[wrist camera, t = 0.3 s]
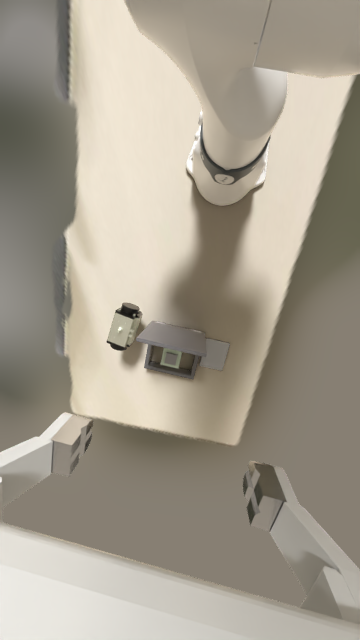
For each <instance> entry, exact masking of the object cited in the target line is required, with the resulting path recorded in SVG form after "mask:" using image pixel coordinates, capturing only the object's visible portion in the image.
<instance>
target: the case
mask: <svg viewBox="0 0 360 640" xmlns="http://www.w3.org/2000/svg"><path fill="white" fill-rule="evenodd" d="M136 341H138V342H142V343H146V344H148V349H147V354H146V360H145V366H144V368H147V369H151V370H156V371H160V372H164V373H168V374H172V375H177V376H181V377H185V378H189V379H194V375H195V371H196V367H197V363H198V359H199V356H202V357H206V356H207V349H206V337H205V333H204V332H201V331H197V330H192V329H187V328H183V327H178V326H174V325H170V324H166V323H162V322H157V321H152V322H151V323H150V324H149V325H148V326H147V327H146V328H145V329H144V330H143V331H142V332H141V333H140V334H139V335H138V336H137V338H136ZM153 345H155V346H159V347H164V348H168V349H172V350H176V351H181V352H185V353H189V354H194V355H195V357H194V361H193V365H192V369H191V371H190V370H186V369H182V368H174V367H169V366H165V365H161V363H157V362H152V361H151V355H152V350H153Z"/></svg>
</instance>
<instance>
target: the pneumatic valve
mask: <svg viewBox="0 0 360 640" xmlns="http://www.w3.org/2000/svg"><path fill="white" fill-rule="evenodd" d="M141 317H142V312H140V311H139V307H138V306H136V305H134V304H130V303H123V304H122V307H121V308H119V309H117V310H116V312H115V315H114V319H113V322H112V325H111V329H110V332H109V336H108V339H107V343H109V344H110V346H111V347H112V348H113V349H116V350H120V351H123V350H126V349H127V347H130V346H131V345H132V344H133V341H134V338H135V335H136V332H137V329H138V326H139V323H140V320H141Z"/></svg>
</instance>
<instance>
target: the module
mask: <svg viewBox="0 0 360 640" xmlns="http://www.w3.org/2000/svg"><path fill="white" fill-rule="evenodd" d="M181 355H182V352H181V351H176V350H172V349H168V348H164V349H163V354H162V359H161V365H165V366H169V367H174V368H179V364H180V359H181Z"/></svg>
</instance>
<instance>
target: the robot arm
mask: <svg viewBox="0 0 360 640" xmlns="http://www.w3.org/2000/svg"><path fill="white" fill-rule="evenodd" d="M124 1H125V4H126V6H127V8H128V11H129V13H130V15H131V17H132V19H133V21H134V23H135V25H136V27H137V28H138V30H139V32H140V33H141V34H142V35H144V36H145V37H146V38H148V39H149V40H150V41H151V42H153V43H154V44H155V45H156V46H157V47H159V48H160V49H161V50H162V51H163V52H164V53H165V54H166V55H167V56H168V57H169V58H170V59H171V60H172V61H173V62H174V63H175V64H176V66H177V67H178V68H179V69H180V71H181V72H182V73H183V75H184V76H185V77H186V79H187V80H188V82H189V83H190V85H191V87H192V88H193V90H194V92H195V93H196V95H197V97H198V99H199V101H200V104H201V107H202V111H201V113H200V117H199V125H200V126H199V129H198V132H196V135H195V140H194V143H193V146H192V149H191V151H190V154H189V157H188V160H187V163H186V169H187V171H188V172H189V173H190V174H191V176H192V177H193V178H194V180H195V183H196V186H197V188H198V190H199V192H200V194H201V195H202V196H203V197H204V198H205V199H206V200H207V201H209V202H210V203H212V204H215V205H220V206H225V205H231V204H233V203H236V202H238V201H239V200H241V199H242V198H243V197H244V196H245V195H246V194H247V193H248V192H249V191H250V190H251V189H253V188H255V187H258V186H259V185H261V184H262V183H263V182H264V180H265V177H266V168H267V159H268V149H269V140H270V136H271V133H272V131H273V129H274V127H275V125H276V123H277V121H278V119H279V117H280V116H281V113H282V111H283V108H284V105H285V102H286V97H287V91H288V73H294V74H300V75H306V76H312V77H318V78H329V77H339V76H349V75H355V74H360V0H124ZM287 72H288V73H287ZM192 159H193V161H192ZM261 173H262V174H261ZM92 427H93V420H91V419H88V418H84V417H81V416H77V415H73V414H69V413H66V412H65V413H63V414H61V415H60V416H59V417H58V418H57V420H55V421H54V422H53V423H52V424H51V425H50V427H48V429H46V431H44V433H43V434H42V435H41V436H40V437H34V438H31V439H30V440H27V441H25V442H22V443H20V444H18V445H16V446H13V447H11V448H9V449H7V450H4V451H2V452H0V640H360V570H359V568H358V567H357V566H356V565H355V564H354V563H353V562H352V561H351V560H350V558H349V557H348V556H347V555H346V554H345V553H344V552H343V551H342V550H341V548H340V547H339V546H338V545H337V544H336V543H335V542H334V541H333V539H332V538H331V537H329V535H328V534H327V533H326V532H325V531H324V529H323V528H322V527H321V526H320V525H319V524H318V523H317V522H316V521H315V520H314V518H313V517H312V516H311V515H310V514H309V513H308V512H307V511H306V510H305V508H304V507H302V506H300V505H299V503H298V500H297V498H296V496H295V494H294V491H293V489H292V487H291V485H290V482H289V480H288V478H287V475H286V473H285V471H284V469H283V468H281V467H277V466H273V465H269V464H265V463H261V462H257V461H253V460H251V461H250V462H249V464H248V469H249V471H247V472H246V473H245V475H244V478H243V492H244V496H245V498H246V500H247V501H248V506H247V512H248V517H249V522H250V526H253V527H256V528H259V529H262V530H266V531H269V532H270V534H271V536H272V538H273V540H274V541H275V543H276V545H277V546H278V548H279V550H280V551H281V553H282V554H283V556H284V558H285V560H286V561H287V563H288V565H289V566H290V568H291V570H292V571H293V573H294V574H295V576H296V578H297V580H298V581H299V583H300V585H301V586H302V588H303V590H304V591H305V593H306V595H307V596H306V597H305V599H304V601H303V602H302V604H301V606H300V607H296V606H293V605H289V604H285V603H282V602H279V601H275V600H272V599H268V598H265V597H261V596H258V595H254V594H251V593H247V592H243V591H240V590H237V589H233V588H229V587H226V586H223V585H219V584H216V583H212V582H209V581H205V580H201V579H198V578H195V577H191V576H188V575H184V574H181V573H178V572H174V571H171V570H167V569H164V568H160V567H156V566H153V565H150V564H146V563H142V562H139V561H135V560H132V559H129V558H125V557H121V556H118V555H114V554H110V553H107V552H104V551H101V550H97V549H94V548H90V547H86V546H83V545H80V544H76V543H73V542H69V541H66V540H62V539H59V538H55V537H51V536H48V535H45V534H41V533H38V532H34V531H30V530H27V529H24V528H20V527H16V526H13V525H10V524H6V523H3V508H4V507H5V506H6V505H8V504H9V503H10V502H12V501H13V500H15V499H16V498H18V497H19V496H21V495H22V494H23V493H25V492H26V491H28V490H29V489H30V488H32V487H33V486H35V485H36V484H38V483H39V482H40V481H42V480H43V479H44V478H46V477H47V476H49V475H50V474H51V473H56V474H60V475H64V476H68V477H69V476H70V474H71V473H72V472H73V470H74V469H75V467H76V466H77V464H78V461H79V457H80V456H82V455H83V454H84V453H85V452H86V450H87V448H88V446H89V444H90V441H91V437H92V432H91V430H90V429H91V428H92Z"/></svg>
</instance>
